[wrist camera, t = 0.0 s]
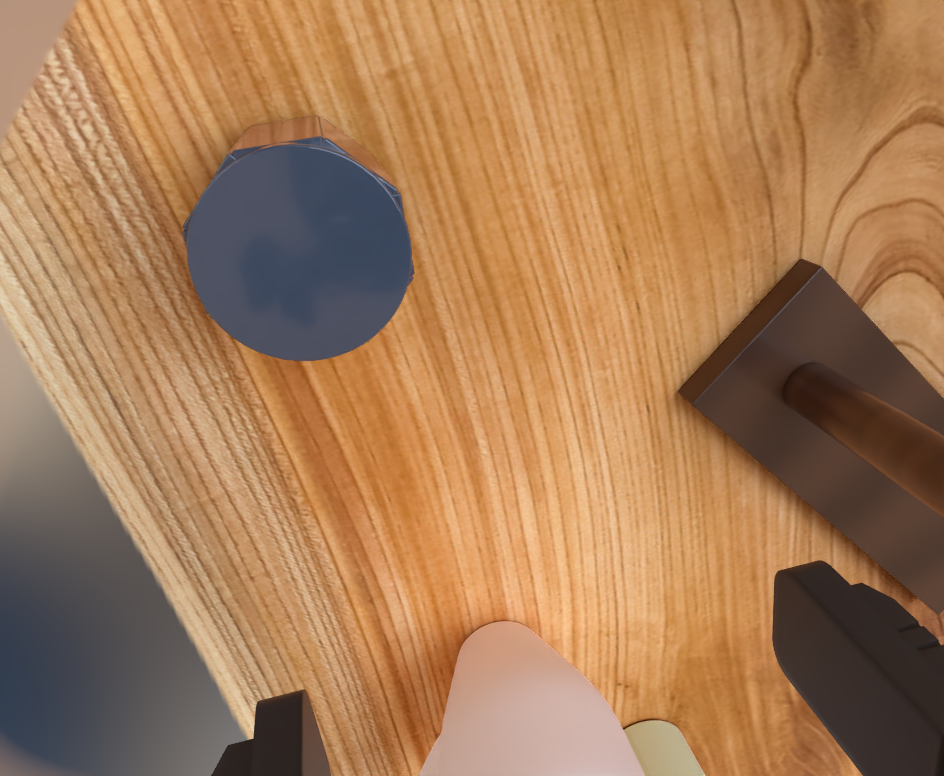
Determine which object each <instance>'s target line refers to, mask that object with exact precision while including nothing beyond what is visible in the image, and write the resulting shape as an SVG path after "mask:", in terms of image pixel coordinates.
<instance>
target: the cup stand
mask: <svg viewBox="0 0 944 776" xmlns="http://www.w3.org/2000/svg"><path fill="white" fill-rule="evenodd" d="M678 392H679V394H680V395H682V396H683V397H684V398H685V399H686V400H687V401H688V402H689V403H691V404H692V405H693V406H694V407H695V408H696V409H697V410H699V411H700V412H701V413H702V414H703V415H704V416H706V417H707V418H708V419H709V420H710V421H712V422H713V423H714V424H715V425H716V426H717V427H719V428H720V429H721V430H722V431H723V432H724V433H726V434H727V435H728V436H729V437H730V438H731V439H733V440H734V441H735V442H736V443H737V444H738V445H740V446H741V447H742V448H743V449H744V450H745V451H747V452H748V453H749V454H750V455H751V456H752V457H754V458H755V459H756V460H757V461H758V462H759V463H761V464H762V465H763V466H764V467H765V468H766V469H768V470H769V471H770V472H771V473H772V474H774V475H775V476H776V477H777V478H778V479H779V480H781V481H782V482H783V483H784V484H785V485H786V486H788V487H789V488H790V489H791V490H792V491H793V492H795V493H796V494H797V495H798V496H799V497H800V498H802V499H803V500H804V501H805V502H806V503H807V504H809V505H810V506H811V507H812V508H813V509H814V510H816V511H817V512H818V513H819V514H820V515H821V516H823V517H824V518H825V519H826V520H827V521H828V522H830V523H831V524H832V525H833V526H834V527H836V528H837V529H838V530H839V531H840V532H841V533H843V534H844V535H845V536H846V537H847V538H848V539H850V540H851V541H852V542H853V543H854V544H855V545H857V546H858V547H859V548H860V549H861V550H862V551H864V552H865V553H866V554H867V555H868V556H869V557H871V558H872V559H873V560H874V561H875V562H876V563H878V564H879V565H880V566H881V567H882V568H883V569H885V570H886V571H887V572H888V573H889V574H890V575H892V576H893V577H894V578H895V579H896V580H898V581H899V582H900V583H901V584H902V585H903V586H905V587H906V588H907V589H908V590H909V591H910V592H912V593H913V594H914V595H915V596H916V597H917V598H919V599H920V600H921V601H922V602H923V603H924V604H926V605H927V606H928V607H929V608H930V609H931V610H933V611H934V612H935V613H936V614H940V613H941V612H942V611H943V610H944V398H943V397H942V396H941V395H940V394H939V393H938V392H937V391H936V390H935V389H934V388H933V387H932V385H931V384H930V383H929V382H928V381H927V380H926V379H925V378H924V377H923V376H922V375H921V374H920V372H919V371H918V370H917V369H916V368H915V367H914V366H913V365H912V364H911V363H910V362H909V361H908V359H907V358H906V357H905V356H904V355H903V354H902V353H901V352H900V351H899V350H898V349H897V348H896V346H895V345H894V344H893V343H892V342H891V341H890V340H889V339H888V338H887V337H886V336H885V335H884V333H883V332H882V331H881V330H880V329H879V328H878V327H877V326H876V325H875V324H874V323H873V322H872V320H871V319H870V318H869V317H868V316H867V315H866V314H865V313H864V312H863V311H862V310H861V309H860V307H859V306H858V305H857V304H856V303H855V302H854V301H853V300H852V299H851V298H850V297H849V296H848V294H847V293H846V292H845V291H844V290H843V289H842V288H841V287H840V286H839V285H838V284H837V283H836V281H835V280H834V279H833V278H832V277H831V276H830V275H829V274H828V273H827V272H826V271H825V270H824V268H823V267H821V266H819V265H816V264H814V263H811V262H809V261H807V260H804V259H801V260H800V261H799V262H798V263H797V264H796V265H795V266H794V268H793V269H792V270H791V271H790V272H789V273H788V274H787V275H786V276H785V277H784V278H783V279H782V280H781V281H780V283H779V284H778V285H777V286H776V287H775V288H774V289H773V290H772V291H771V292H770V293H769V294H768V295H767V297H766V298H765V299H764V300H763V301H762V302H761V303H760V304H759V305H758V306H757V307H756V308H755V309H754V311H753V312H752V313H751V314H750V315H749V316H748V317H747V318H746V319H745V320H744V321H743V322H742V323H741V324H740V326H739V327H738V328H737V329H736V330H735V331H734V332H733V333H732V334H731V335H730V336H729V337H728V338H727V340H726V341H725V342H724V343H723V344H722V345H721V346H720V347H719V348H718V349H717V350H716V351H715V352H714V354H713V355H712V356H711V357H710V358H709V359H708V360H707V361H706V362H705V363H704V364H703V365H702V366H701V367H700V369H699V370H698V371H697V372H696V373H695V374H694V375H693V376H692V377H691V378H690V379H689V380H688V381H687V383H686V384H685V385H684V386H683V387H682V388H681V389H680V390H679V391H678Z"/></svg>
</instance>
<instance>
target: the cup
mask: <svg viewBox="0 0 944 776" xmlns="http://www.w3.org/2000/svg"><path fill="white" fill-rule="evenodd" d="M183 229H184V230H183V231H182V234H183V238H184V241H185V244H186V248H187V259H188V267H189V271H190V276H191V280H192V282H193V285H194V288H195V290H196V293H197V295H198V297H199V299H200V300H201V302H202V304H203V306H204V308H205V311H206V313H208V314H210V315H209V316H210V318H212V319H214V320H215V322H216V323H217V324H218V325H219V326H220V327H221V328H222V329H223V330H224V331H226V332H227V333H228V334H229V335H230V336H232V337H233V338H234V339H236V340H237V341H239V342H240V343H242V344H243V345H245V346H247V347H249V348H251V349H253V350H255V351H257V352H260V353H263V354H265V355H268V356H271V357H276V358H280V359H284V360H294V361H315V360H322V359H328V358H332V357H335V356H339V355H342V354H344V353H347V352H349V351H352V350H354V349H356V348H357V347H359V346H361V345H363V344H365V343H366V342H368V341H369V340H370V339H371V338H373V337H374V336H375V335H376V334H377V333H378V332H380V331H381V330H382V329H383V328H384V327H385V326H386V324H387V323H388V322H389V321H390V319H391V318H392V317H393V316H394V314H395V312H396V311H397V309H398V307H399V306H400V304H401V302H402V300H403V297H404V295H405V293H406V290H407V287H408V285H409V284H410V283H411V281H412V280H413V276H412V275H413V274H414V267H413V261H412V248H411V239H410V235H409V231H408V226H407V223H406V221H405V215H404V209H403V204H402V198H401V194H400V192H399V191H398V189H397V188H396V186H395V185H394V183H393V182H392V180H391V179H390V178H389V176H388V175H387V173H386V172H385V171H384V169H383V168H382V166H381V165H380V164H379V162H378V161H377V159H376V158H375V157H374V155H373V154H372V153H370V152H369V151H368V150H366V149H365V148H364V147H362V146H361V145H359V144H358V143H357V142H355V141H354V140H353V139H351V138H350V137H348V136H347V135H346V134H344V133H343V132H342V131H340V130H339V129H337V128H336V127H335V126H333V125H332V124H331V123H329V122H328V121H327V120H325V119H324V118H322V117H319V118H318V116H316V115H315V116H308V117H302V118H296V119H290V120H284V121H277V122H271V123H265V124H259V125H253V126H252V127H251V128H248V129H247V131H246V132H245V133H244V134H243V136H242V137H241V138H240V139H239V140H238V142H237V143H236V144H235V145H234V147H233V148H232V149H231V150H230V151H229V153H228V154H227V155H226V157H225V159H224V160H223V162H222V164H221V165H220V167H219V168H218V170H217V172H216V173H215V175H214V176H213V178H212V180H211V181H210V183H209V184H208V186H207V188H206V189H205V191H204V192H203V193H202V195H201V197H200V199H199V201H198V202H197V204H196V205H195V207H194V209H193V210H192V212H191V213H190V215H189V217H188V218H187V220H186V221H185V223H184V225H183Z"/></svg>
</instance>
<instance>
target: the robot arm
mask: <svg viewBox="0 0 944 776" xmlns="http://www.w3.org/2000/svg"><path fill="white" fill-rule="evenodd" d="M772 640H773V647H774V651H775V655H776V658H777V660H778V663H779V665H780V667H781V669H782V671H783V672H784V674H785V676H786V677H787V678H788V680H789V681H790V682H791V683H792V685H793V686H794V687H795V689H796V690H797V691H798V692H799V694H800V695H801V696H802V698H803V699H804V700H805V701H806V703H807V704H808V705H809V707H810V708H811V709H812V710H813V712H814V713H815V714H816V716H817V717H818V718H819V719H820V721H821V722H822V723H823V725H824V726H825V727H826V728H827V730H828V731H829V732H830V734H831V735H832V736H833V737H834V739H835V740H836V741H837V743H838V744H839V745H840V746H841V748H842V749H843V750H844V752H845V753H846V754H847V755H848V757H849V758H850V759H851V761H852V762H853V763H854V764H855V766H856V767H857V768H858V770H859V771H860V772H861V773H862V775H863V776H944V645H940V644H939V640H938V639H937V638H936V637H935V636H934V635H932V634H931V633H930V632H929V631H928V630H927V629H926V628H925V627H924V626H922V627H921V626H920V625H919V623H918V621H917V620H916V619H915V618H914V617H913V616H912V615H911V614H910V613H908V612H907V611H906V610H905V609H904V608H903V607H902V606H901V605H900V604H899V603H898V602H896V601H895V600H894V599H893V598H891V597H889V596H887V595H885V594H883V593H881V592H879V591H877V590H875V589H873V588H871V587H869V586H867V585H865V584H863V583H859V584H855V585H850V584H849V583H848V582H847V581H846V580H845V579H844V578H843V577H842V576H841V575H840V574H839V573H838V572H836V571H835V570H834V569H833V568H832V567H831V566H830V565H829V564H828V563H826V562H824V561H815V562H811V563H807V564H803V565H799V566H795V567H791V568H787V569H784V570H780V571H778V572H777V573H776V575H775V580H774V605H773V634H772ZM211 776H331V773H330V768H329V763H328V759H327V755H326V751H325V748H324V745H323V742H322V738H321V735H320V732H319V729H318V725H317V722H316V719H315V716H314V712H313V709H312V706H311V703H310V699H309V696H308V694H307V692H306V690H305V689H304V690H300V691H296V692H292V693H288V694H284V695H280V696H276V697H272V698H268V699H264V700H260V701H258V703H257V706H256V713H255V726H254V739H250V740H246V741H243V742H239V743H235V744H231V745H228V746H227V748H226V750H225V752H224V753H223V755H222V757H221V759H220V761H219V763H218V764H217V767H216V768H215V770H214V772H213V774H212V775H211Z"/></svg>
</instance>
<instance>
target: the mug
mask: <svg viewBox="0 0 944 776" xmlns="http://www.w3.org/2000/svg"><path fill="white" fill-rule="evenodd" d="M418 776H645V774H644V772H643V770H642V768H641V766H640V764H639V762H638V760H637V757H636V755H635V753H634V751H633V749H632V747H631V745H630V743H629V741H628V739H627V736H626V734H625V732H624V730H623V728H622V726H621V724H620V723H619V721H618V719H617V717H616V715H615V714H614V712H613V710H612V709H611V707H610V706H609V704H608V703H607V701H606V700H605V698H604V697H603V696H602V695H601V693H600V692H599V691H598V690H597V688H596V687H595V686H594V685H593V684H592V683H591V682H590V681H589V680H588V679H587V678H586V677H585V676H584V675H583V674H582V673H581V672H580V671H579V670H578V669H577V668H575V667H574V666H573V665H572V664H571V663H570V662H569V661H567V660H566V659H565V658H564V657H563V656H561V655H560V654H559V653H558V652H557V651H556V650H554V649H553V648H552V647H551V646H550V645H549V644H547V643H546V642H545V641H544V640H543V639H542V638H540V637H539V636H538V635H537V634H536V633H535V632H533V631H532V630H531V629H530V628H528V627H527V626H525V625H523V624H520V623H517V622H512V621H499V622H494V623H490V624H488V625H485V626H483V627H481V628H479V629H478V630H476V631H475V632H473V633H472V634H471V635H470V636H469V637H468V638H467V639H466V640H465V642H464V643H463V645H462V647H461V649H460V651H459V654H458V658H457V663H456V667H455V671H454V676H453V680H452V684H451V688H450V693H449V697H448V701H447V705H446V710H445V714H444V719H443V724H442V730H441V734H440V735H439V737H438V738H437V740H436V742H435V744H434V745H433V747H432V749H431V751H430V753H429V755H428V757H427V759H426V761H425V763H424V765H423V767H422V769H421V771H420V773H419V775H418Z"/></svg>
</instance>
